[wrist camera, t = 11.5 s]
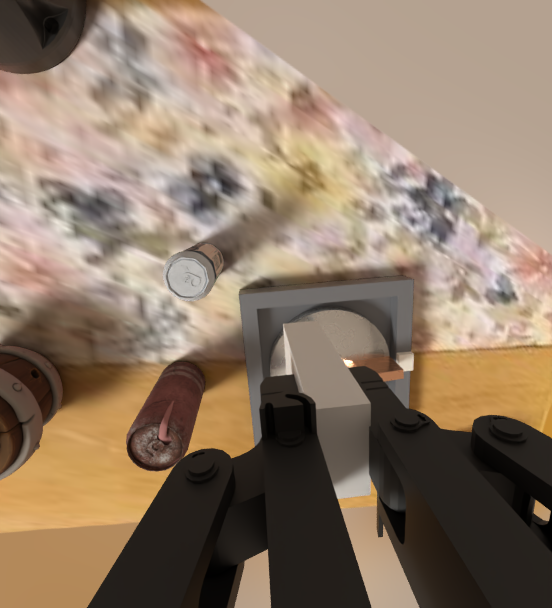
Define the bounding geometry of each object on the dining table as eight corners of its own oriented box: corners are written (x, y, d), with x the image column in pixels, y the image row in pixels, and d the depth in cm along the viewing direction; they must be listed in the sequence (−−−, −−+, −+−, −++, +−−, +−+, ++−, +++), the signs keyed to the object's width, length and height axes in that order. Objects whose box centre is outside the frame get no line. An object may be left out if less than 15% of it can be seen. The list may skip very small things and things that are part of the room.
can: (209, 361, 44) (191, 424, 31) (202, 402, 46) (182, 478, 32) (164, 354, 44) (125, 415, 30) (158, 396, 45) (119, 471, 32)
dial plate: (239, 289, 42) (238, 296, 39) (402, 275, 43) (417, 280, 40) (254, 433, 48) (255, 451, 44) (398, 417, 49) (410, 433, 45)
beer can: (194, 236, 40) (171, 243, 28) (229, 252, 41) (221, 265, 29) (180, 270, 41) (152, 291, 29) (215, 286, 42) (201, 311, 30)
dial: (276, 421, 46) (280, 449, 40) (262, 315, 42) (263, 330, 36) (385, 404, 47) (404, 430, 41) (381, 298, 43) (402, 311, 37)
